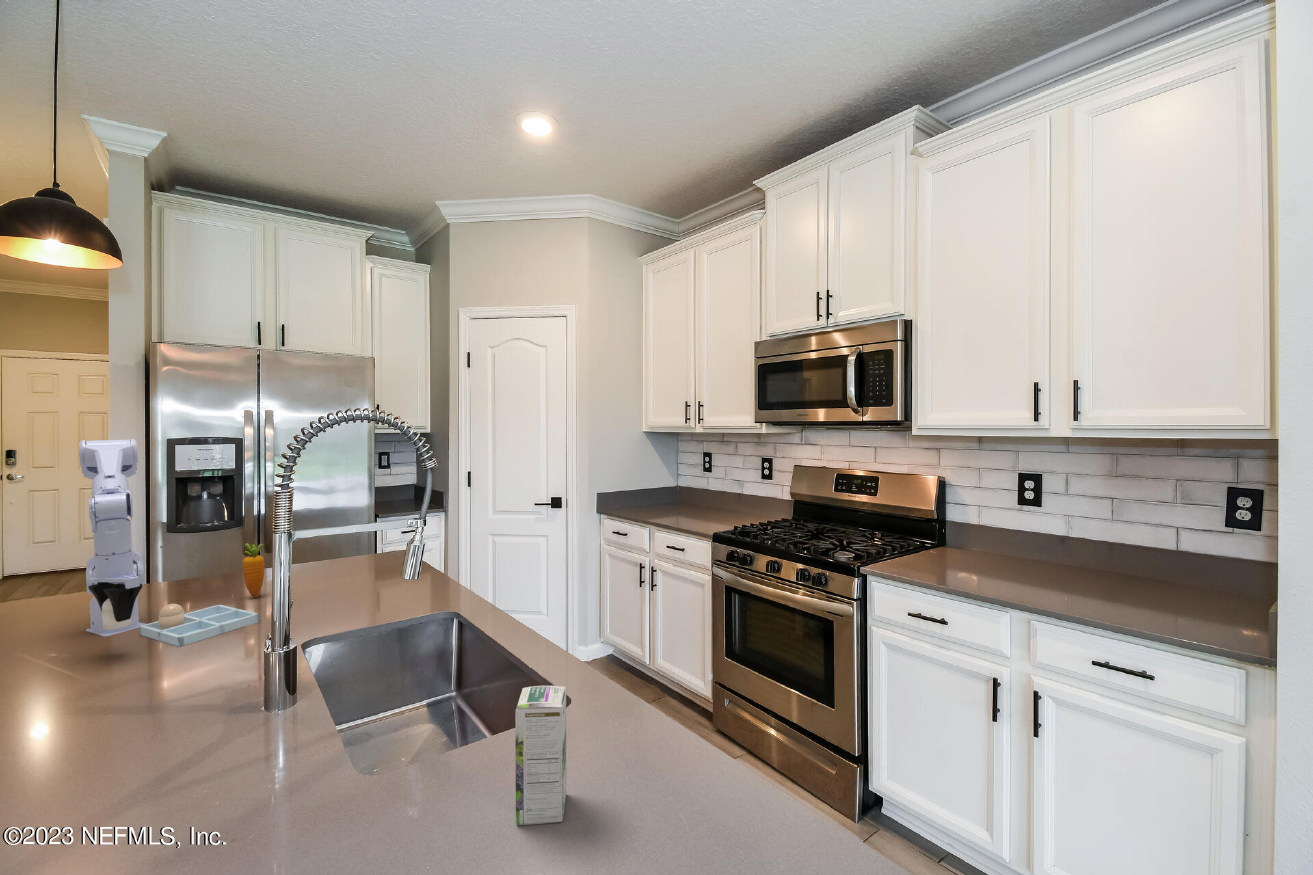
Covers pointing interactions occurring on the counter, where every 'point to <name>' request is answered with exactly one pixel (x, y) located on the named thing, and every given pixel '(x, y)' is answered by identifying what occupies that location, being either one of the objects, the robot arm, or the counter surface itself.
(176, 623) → the brown egg
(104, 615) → the cream egg
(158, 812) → the counter surface
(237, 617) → the divided tray
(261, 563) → the carrot
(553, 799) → the syrup box
